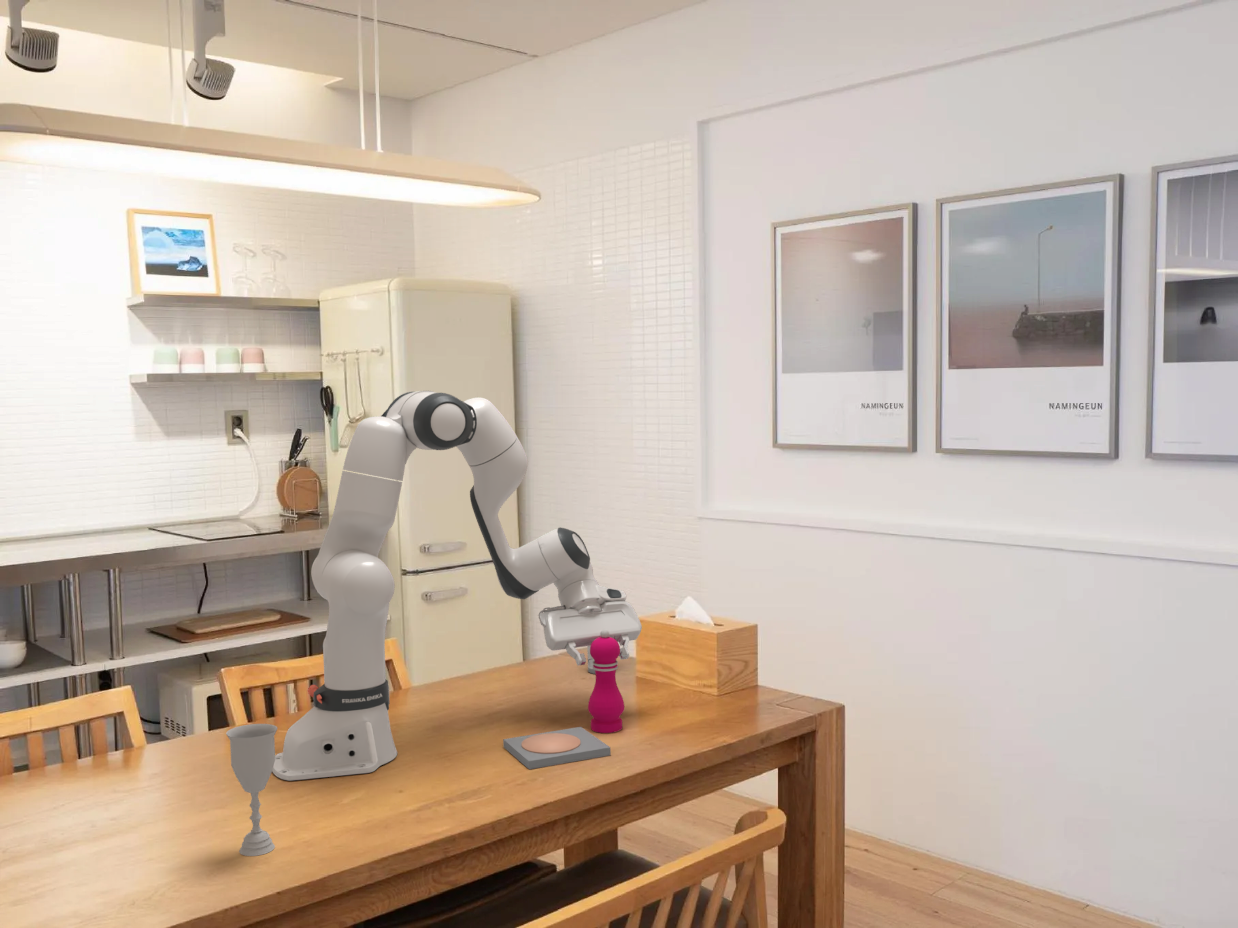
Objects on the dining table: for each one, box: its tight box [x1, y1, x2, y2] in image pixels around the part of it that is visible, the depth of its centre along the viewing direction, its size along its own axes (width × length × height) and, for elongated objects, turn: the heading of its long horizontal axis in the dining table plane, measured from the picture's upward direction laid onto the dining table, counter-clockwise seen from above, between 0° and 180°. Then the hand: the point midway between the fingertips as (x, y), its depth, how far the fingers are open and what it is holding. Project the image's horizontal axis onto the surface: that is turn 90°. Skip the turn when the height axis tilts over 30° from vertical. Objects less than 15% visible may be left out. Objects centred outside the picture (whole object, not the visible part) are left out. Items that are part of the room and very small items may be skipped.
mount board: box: [502, 726, 612, 770], centre depth 205 cm, size 16×14×2 cm
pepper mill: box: [587, 629, 625, 734], centre depth 218 cm, size 7×7×20 cm
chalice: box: [225, 723, 278, 857], centre depth 163 cm, size 7×7×18 cm
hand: (603, 660), depth 218 cm, fingers open, 8 cm apart
